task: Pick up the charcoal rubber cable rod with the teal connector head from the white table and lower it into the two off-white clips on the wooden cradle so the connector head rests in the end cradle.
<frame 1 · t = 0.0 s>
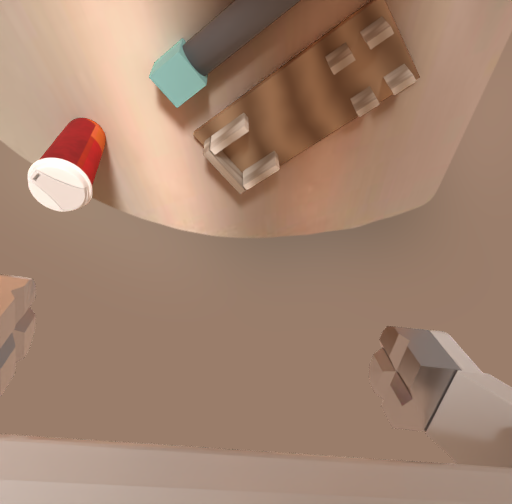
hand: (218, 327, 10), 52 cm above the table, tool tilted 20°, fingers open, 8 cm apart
wooden cradle: (301, 104, 60), on the table
cable: (241, 16, 52), on the table
paper cup: (87, 134, 63), on the table
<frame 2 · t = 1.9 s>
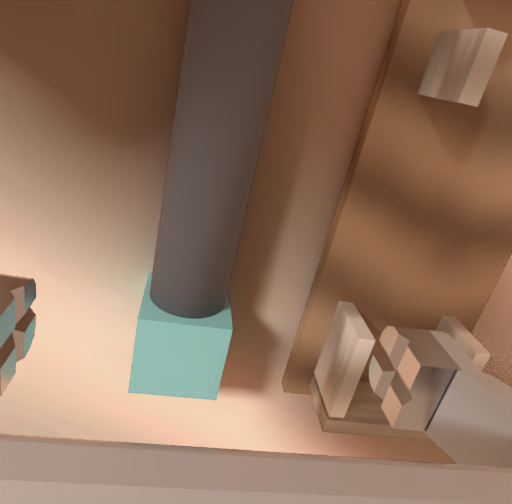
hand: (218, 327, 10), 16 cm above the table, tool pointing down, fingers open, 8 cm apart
wooden cradle: (432, 206, 26), on the table
cable: (210, 163, 24), on the table
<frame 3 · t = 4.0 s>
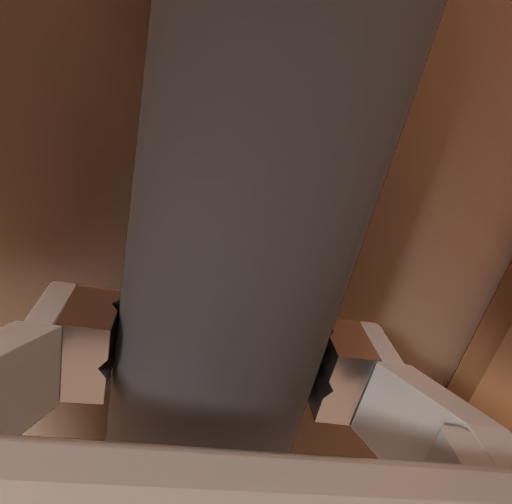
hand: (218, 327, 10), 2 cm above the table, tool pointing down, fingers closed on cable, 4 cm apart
cable: (217, 293, 11), on the table, touching gripper
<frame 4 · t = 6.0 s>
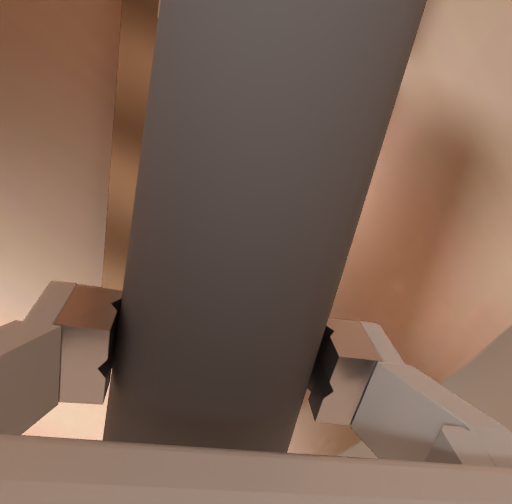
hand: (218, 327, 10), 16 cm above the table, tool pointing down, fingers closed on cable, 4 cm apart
wooden cradle: (224, 157, 24), on the table
cable: (214, 301, 12), point 14 cm above the table, tilted 6°, touching gripper
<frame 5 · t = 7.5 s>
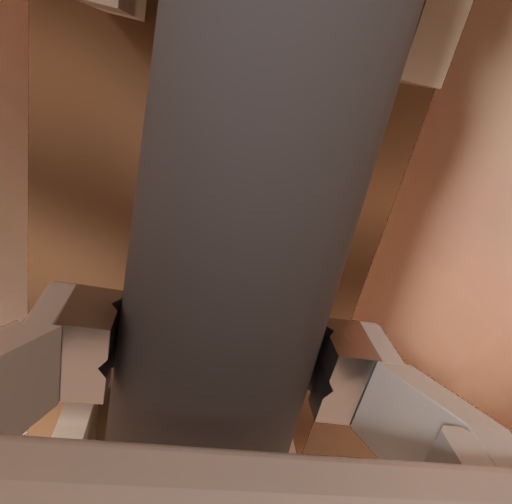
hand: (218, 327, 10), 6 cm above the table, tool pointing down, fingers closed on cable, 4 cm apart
wooden cradle: (213, 224, 16), on the table
cable: (215, 302, 12), point 5 cm above the table, touching gripper
when the fingers open (3 cm above the table, at t = 8.5 s): cable stays where it is, resting on wooden cradle.
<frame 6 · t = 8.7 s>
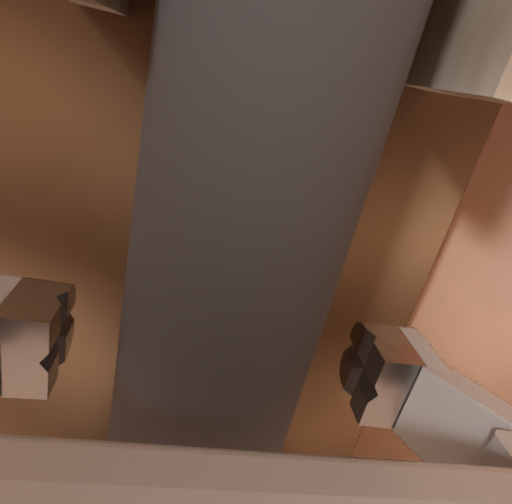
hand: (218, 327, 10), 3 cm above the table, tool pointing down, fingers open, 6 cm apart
wooden cradle: (217, 267, 13), on the table
cable: (215, 294, 12), point 1 cm above the table, touching wooden cradle
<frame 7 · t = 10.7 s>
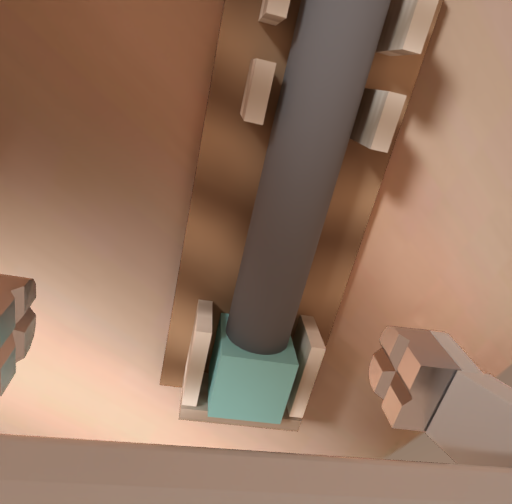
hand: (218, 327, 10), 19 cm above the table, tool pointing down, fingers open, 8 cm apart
wooden cradle: (278, 213, 29), on the table
cable: (278, 223, 28), point 1 cm above the table, touching wooden cradle
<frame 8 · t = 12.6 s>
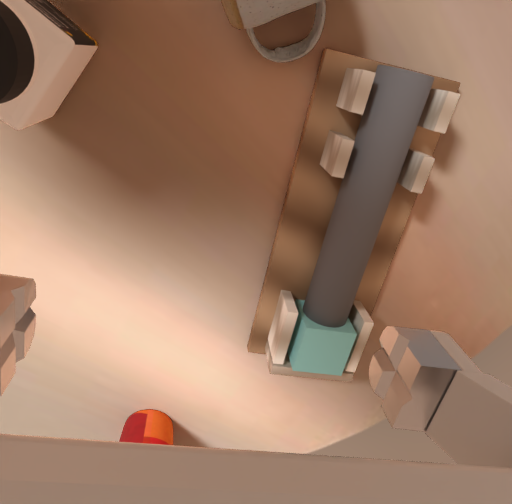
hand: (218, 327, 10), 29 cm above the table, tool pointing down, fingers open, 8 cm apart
wooden cradle: (338, 229, 41), on the table
cable: (340, 236, 41), point 1 cm above the table, touching wooden cradle
medicine bottle: (35, 50, 32), on the table
paper cup: (149, 425, 50), on the table
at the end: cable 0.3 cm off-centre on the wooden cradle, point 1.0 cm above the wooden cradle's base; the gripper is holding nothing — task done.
